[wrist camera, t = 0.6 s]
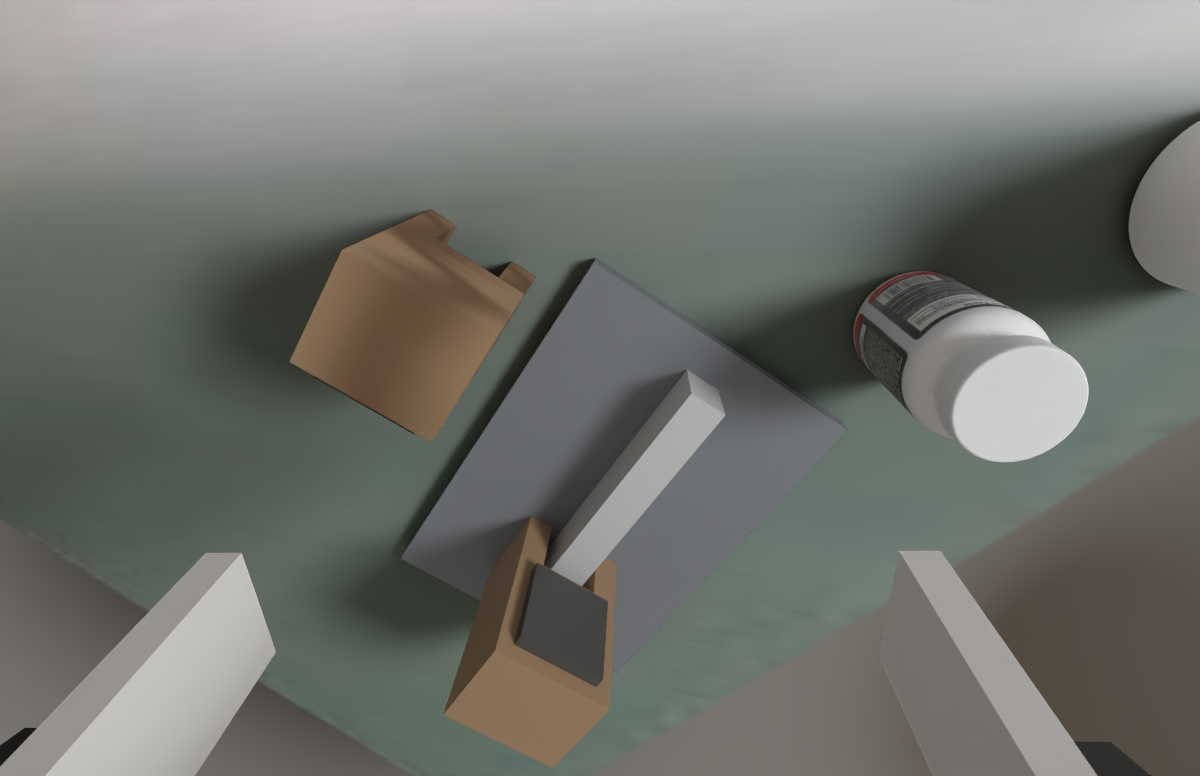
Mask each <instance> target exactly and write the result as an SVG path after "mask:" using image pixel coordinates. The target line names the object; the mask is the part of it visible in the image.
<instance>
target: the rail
mask: <svg viewBox="0 0 1200 776" xmlns="http://www.w3.org/2000/svg"><path fill="white" fill-rule="evenodd" d="M846 431H847V428H846V427H845V425H844V424H843V422H842V421H841V420H839V419H838V418H836V417H835V416H833V415H832V414H830V413H829V412H827V411H826V410H824V409H823V408H821V407H820V406H818V405H817V404H815V403H814V402H812V401H810V400H809V399H807V398H806V397H804V396H803V395H801V394H800V393H798V392H797V391H795V390H794V389H792V388H791V387H789V386H788V385H786V384H785V383H783V382H782V381H780V380H779V379H777V378H776V377H774V376H773V375H771V374H770V373H768V372H767V371H765V370H764V369H762V368H761V367H759V366H758V365H756V364H755V363H753V362H752V361H750V360H749V359H747V358H746V357H744V356H743V355H741V354H740V353H738V352H737V351H735V350H734V349H732V348H731V347H729V346H728V345H726V344H725V343H723V342H722V341H720V340H719V339H717V338H716V337H714V336H713V335H711V334H710V333H708V332H707V331H705V330H704V329H702V328H701V327H699V326H698V325H696V324H695V323H693V322H692V321H690V320H688V319H687V318H685V317H684V316H682V315H681V314H679V313H678V312H676V311H675V310H673V309H672V308H670V307H669V306H667V305H666V304H664V303H663V302H661V301H660V300H658V299H657V298H655V297H654V296H652V295H651V294H649V293H648V292H646V291H645V290H643V289H642V288H640V287H639V286H637V285H636V284H634V283H633V282H631V281H630V280H628V279H627V278H625V277H624V276H622V275H621V274H619V273H618V272H616V271H615V270H613V269H612V268H610V267H609V266H607V265H606V264H604V263H603V262H601V261H600V260H598V259H597V258H595V259H594V261H593V262H592V264H591V266H590V267H589V269H588V270H587V272H586V273H585V275H584V276H583V278H582V279H581V281H580V282H579V284H578V285H577V287H576V289H575V290H574V292H573V293H572V295H571V296H570V298H569V299H568V301H567V302H566V304H565V305H564V307H563V308H562V310H561V312H560V313H559V315H558V316H557V318H556V319H555V321H554V322H553V324H552V325H551V327H550V328H549V330H548V331H547V333H546V335H545V336H544V338H543V339H542V341H541V342H540V344H539V345H538V347H537V348H536V350H535V351H534V353H533V354H532V356H531V357H530V359H529V361H528V362H527V364H526V365H525V367H524V368H523V370H522V371H521V373H520V374H519V376H518V377H517V379H516V380H515V382H514V384H513V385H512V387H511V388H510V390H509V391H508V393H507V394H506V396H505V397H504V399H503V400H502V402H501V403H500V405H499V407H498V408H497V410H496V411H495V413H494V414H493V416H492V417H491V419H490V420H489V422H488V423H487V425H486V426H485V428H484V430H483V431H482V433H481V434H480V436H479V437H478V439H477V440H476V442H475V443H474V445H473V446H472V448H471V449H470V451H469V453H468V454H467V456H466V457H465V459H464V460H463V462H462V463H461V465H460V466H459V468H458V469H457V471H456V472H455V474H454V476H453V477H452V479H451V480H450V482H449V483H448V485H447V486H446V488H445V489H444V491H443V492H442V494H441V495H440V497H439V499H438V500H437V502H436V503H435V505H434V506H433V508H432V509H431V511H430V512H429V514H428V515H427V517H426V518H425V520H424V522H423V523H422V525H421V526H420V528H419V529H418V531H417V532H416V534H415V535H414V537H413V538H412V540H411V541H410V543H409V545H408V546H407V548H406V549H405V551H404V553H403V555H402V557H401V558H400V559H401V560H403V561H405V562H407V563H409V564H411V565H413V566H415V567H416V568H418V569H420V570H422V571H424V572H426V573H428V574H430V575H432V576H434V577H435V578H437V579H439V580H441V581H443V582H445V583H447V584H449V585H451V586H453V587H454V588H456V589H458V590H460V591H462V592H464V593H466V594H468V595H470V596H472V597H473V598H475V599H477V600H479V601H480V604H479V607H478V610H477V613H476V616H475V619H474V622H473V625H472V629H471V632H470V635H469V638H468V641H467V644H466V647H465V650H464V653H463V656H462V659H461V662H460V665H459V668H458V671H457V674H456V677H455V681H454V684H453V687H452V690H451V693H450V696H449V699H448V702H447V705H446V708H445V711H444V714H443V715H444V716H446V717H448V718H450V719H452V720H454V721H456V722H458V723H461V724H463V725H465V726H467V727H469V728H471V729H473V730H475V731H477V732H479V733H481V734H483V735H485V736H487V737H490V738H492V739H494V740H496V741H498V742H500V743H502V744H504V745H506V746H508V747H510V748H512V749H514V750H516V751H518V752H521V753H523V754H525V755H527V756H529V757H531V758H533V759H535V760H537V761H539V762H541V763H543V764H545V765H547V766H549V767H552V768H553V767H554V766H555V765H556V764H557V763H558V762H559V761H560V760H561V759H562V758H563V757H564V756H565V755H566V754H567V753H568V752H569V751H570V750H571V749H572V748H573V747H574V746H575V745H576V744H577V743H578V742H579V741H580V740H581V739H582V738H583V737H584V736H585V735H586V733H587V732H588V731H589V730H590V729H591V728H592V727H593V726H594V725H595V724H596V723H597V722H598V721H599V720H600V719H601V718H602V717H603V716H604V715H605V714H606V713H607V712H608V711H609V710H610V694H611V674H612V671H614V672H616V673H617V672H618V671H619V670H620V669H621V668H622V667H623V666H624V665H625V664H626V663H627V662H628V661H629V660H630V659H631V658H632V657H633V656H634V654H635V653H636V652H637V651H638V650H639V649H640V648H641V647H642V646H643V645H644V644H645V643H646V642H647V641H648V640H649V639H650V638H651V637H652V635H653V634H654V633H655V632H656V631H657V630H658V629H659V628H660V627H661V626H662V625H663V624H664V623H665V622H666V621H667V620H668V619H669V618H670V617H671V615H672V614H673V613H674V612H675V611H676V610H677V609H678V608H679V607H680V606H681V605H682V604H683V603H684V602H685V601H686V600H687V599H688V598H689V596H690V595H691V594H692V593H693V592H694V591H695V590H696V589H697V588H698V587H699V586H700V585H701V584H702V583H703V582H704V581H705V580H706V579H707V578H708V576H709V575H710V574H711V573H712V572H713V571H714V570H715V569H716V568H717V567H718V566H719V565H720V564H721V563H722V562H723V561H724V560H725V559H726V557H727V556H728V555H729V554H730V553H731V552H732V551H733V550H734V549H735V548H736V547H737V546H738V545H739V544H740V543H741V542H742V541H743V540H744V539H745V537H746V536H747V535H748V534H749V533H750V532H751V531H752V530H753V529H754V528H755V527H756V526H757V525H758V524H759V523H760V522H761V521H762V520H763V518H764V517H765V516H766V515H767V514H768V513H769V512H770V511H771V510H772V509H773V508H774V507H775V506H776V505H777V504H778V503H779V502H780V501H781V500H782V498H783V497H784V496H785V495H786V494H787V493H788V492H789V491H790V490H791V489H792V488H793V487H794V486H795V485H796V484H797V483H798V482H799V481H800V479H801V478H802V477H803V476H804V475H805V474H806V473H807V472H808V471H809V470H810V469H811V468H812V467H813V466H814V465H815V464H816V463H817V462H818V461H819V459H820V458H821V457H822V456H823V455H824V454H825V453H826V452H827V451H828V450H829V449H830V448H831V447H832V446H833V445H834V444H835V443H836V442H837V440H838V439H839V438H840V437H841V436H842V435H843V434H844V433H845V432H846Z"/></svg>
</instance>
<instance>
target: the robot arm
mask: <svg viewBox="0 0 1200 776" xmlns="http://www.w3.org/2000/svg"><path fill="white" fill-rule="evenodd" d="M275 653H276V651H275V648H274V645H273V642H272V639H271V636H270V634H269V631H268V628H267V625H266V622H265V619H264V616H263V613H262V610H261V608H260V605H259V602H258V599H257V596H256V593H255V590H254V587H253V585H252V582H251V579H250V576H249V573H248V570H247V567H246V564H245V562H244V559H243V556H242V553H205V554H204V555H203V556H202V557H201V558H200V559H199V560H198V562H197V563H196V564H195V565H194V566H193V567H192V568H191V569H190V570H189V571H188V572H187V573H186V574H185V575H184V576H183V577H182V578H181V579H180V580H179V581H178V582H177V583H176V584H175V585H174V586H173V588H172V589H171V590H170V591H169V592H168V593H167V594H166V595H165V596H164V597H163V598H162V599H161V600H160V601H159V602H158V603H157V604H156V605H155V606H154V607H153V608H152V609H151V610H150V611H149V612H148V614H147V615H146V616H145V617H144V618H143V619H142V620H141V621H140V622H139V623H138V624H137V625H136V626H135V627H134V628H133V629H132V630H131V631H130V632H129V633H128V634H127V635H126V636H125V637H124V638H123V639H122V641H121V642H120V643H119V644H118V645H117V646H116V647H115V648H114V649H113V650H112V651H111V652H110V653H109V654H108V655H107V656H106V657H105V658H104V659H103V660H102V661H101V662H100V663H99V665H98V666H97V667H96V668H95V669H94V670H93V671H92V672H91V673H90V674H89V675H88V676H87V677H86V678H85V679H84V680H83V681H82V682H81V683H80V684H79V685H78V686H77V688H75V689H74V691H73V692H72V693H71V694H70V695H69V696H68V697H67V698H66V699H65V700H64V701H63V702H62V703H61V704H60V705H59V706H58V707H57V708H56V709H55V710H54V711H53V712H52V713H51V714H50V715H49V717H48V718H47V719H46V720H45V721H44V722H43V723H42V724H41V725H40V726H39V727H38V728H24V729H23V730H21V731H20V732H19V733H17V734H16V735H14V736H13V737H11V738H10V739H9V740H7V741H6V742H5V743H3V744H2V745H0V776H195V775H196V773H197V772H198V770H199V768H200V767H201V765H202V764H203V762H204V761H205V759H206V758H207V756H208V755H209V753H210V752H211V750H212V749H213V747H214V746H215V744H216V743H217V741H218V740H219V738H220V737H221V735H222V734H223V732H224V730H225V729H226V727H227V726H228V724H229V723H230V721H231V720H232V718H233V717H234V715H235V714H236V712H237V711H238V709H239V707H240V706H241V705H242V703H243V701H244V700H245V698H246V697H247V695H248V694H249V692H250V691H251V689H252V688H253V686H254V685H255V683H256V682H257V680H258V679H259V677H260V676H261V674H262V673H263V671H264V670H265V668H266V667H267V665H268V663H269V662H270V660H271V659H272V657H273V656H274V654H275ZM879 658H880V660H881V662H882V664H883V667H884V669H885V671H886V673H887V676H888V678H889V680H890V682H891V685H892V687H893V689H894V691H895V693H896V696H897V698H898V700H899V702H900V705H901V707H902V709H903V711H904V713H905V716H906V718H907V720H908V722H909V724H910V726H911V729H912V731H913V733H914V735H915V738H916V740H917V742H918V744H919V747H920V749H921V751H922V753H923V755H924V757H925V760H926V762H927V764H928V766H929V769H930V771H931V773H932V775H933V776H1151V775H1150V774H1148V773H1147V772H1146V771H1145V770H1144V769H1142V768H1141V767H1140V766H1139V765H1138V764H1136V763H1135V762H1134V761H1133V760H1132V759H1130V758H1129V757H1128V756H1127V755H1126V754H1124V753H1123V752H1122V751H1121V750H1120V749H1118V748H1117V747H1116V746H1115V745H1114V744H1112V743H1111V742H1074V741H1073V740H1072V738H1071V737H1070V736H1069V734H1068V733H1067V731H1066V730H1065V729H1064V727H1063V726H1062V725H1061V723H1060V721H1059V720H1058V718H1057V717H1056V716H1055V714H1054V713H1053V711H1052V710H1051V708H1050V707H1049V706H1048V704H1047V703H1046V702H1045V700H1044V699H1043V697H1042V696H1041V694H1040V693H1039V691H1038V690H1037V689H1036V687H1035V686H1034V684H1033V683H1032V682H1031V680H1030V678H1029V677H1028V676H1027V674H1026V673H1025V671H1024V670H1023V668H1022V667H1021V666H1020V664H1019V663H1018V661H1017V660H1016V659H1015V657H1014V656H1013V654H1012V653H1011V651H1010V650H1009V649H1008V647H1007V646H1006V644H1005V643H1004V641H1003V640H1002V638H1001V637H1000V636H999V634H998V633H997V631H996V630H995V629H994V627H993V626H992V624H991V623H990V621H989V620H988V619H987V617H986V616H985V614H984V613H983V611H982V610H981V608H980V607H979V606H978V604H977V603H976V601H975V600H974V598H973V597H972V596H971V594H970V593H969V591H968V590H967V588H966V587H965V586H964V584H963V583H962V581H961V580H960V578H959V577H958V576H957V574H956V573H955V571H954V570H953V568H952V567H951V566H950V564H949V563H948V561H947V560H946V558H945V557H944V556H943V554H942V553H941V551H899V555H898V560H897V565H896V570H895V575H894V580H893V585H892V591H891V596H890V601H889V606H888V611H887V617H886V621H885V627H884V632H883V637H882V642H881V647H880V652H879Z"/></svg>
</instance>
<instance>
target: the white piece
mask: <svg viewBox="0 0 1200 776" xmlns="http://www.w3.org/2000/svg"><path fill="white" fill-rule="evenodd" d="M1129 238H1130V243H1131V247H1132V250H1133V252H1134V255H1135V257H1136V259H1137V260H1138V262H1139V263H1140V265H1141V266H1142V267H1143V268H1144V269H1145V270H1146V271H1147V272H1148V273H1149V274H1150V275H1151V276H1153V277H1154V278H1156V279H1157V280H1159V281H1161V282H1163V283H1166V284H1168V285H1171V286H1174V287H1177V288H1181V289H1184V290H1187V291H1190V292H1193V293H1196V294H1199V295H1200V121H1198V122H1196V123H1195V124H1193V125H1192V126H1190V127H1189V128H1188V129H1186V130H1185V131H1184V132H1182V133H1181V134H1180V135H1179V136H1178V137H1176V138H1175V139H1174V140H1173V141H1172V142H1171V143H1170V144H1169V145H1168V146H1167V147H1166V148H1165V149H1164V150H1163V151H1162V152H1161V153H1160V154H1159V156H1158V157H1157V158H1156V159H1155V160H1154V162H1153V163H1152V164H1151V166H1150V167H1149V169H1148V170H1147V172H1146V173H1145V175H1144V177H1143V179H1142V180H1141V182H1140V184H1139V186H1138V189H1137V191H1136V193H1135V196H1134V199H1133V202H1132V206H1131V210H1130V216H1129Z"/></svg>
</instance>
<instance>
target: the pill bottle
mask: <svg viewBox="0 0 1200 776" xmlns="http://www.w3.org/2000/svg"><path fill="white" fill-rule="evenodd" d="M853 339H854V345H855V349H856V351H857V354H858V356H859V358H860V359H861V361H862V362H863V364H864V365H865V366H866V367H867V368H868V369H869V370H870V371H871V372H872V373H873V374H874V376H875V377H876V378H877V379H878V380H879V381H880V382H881V383H882V384H883V385H884V386H885V387H886V388H887V389H888V390H889V391H890V392H891V393H892V395H893V396H894V397H895V398H896V399H897V400H898V401H899V402H900V403H901V404H902V405H903V406H904V407H905V408H906V409H907V410H908V411H909V413H910V414H911V415H912V416H913V417H914V418H915V419H916V420H917V421H918V422H920V423H921V424H922V425H923V426H924V427H926V428H927V429H929V430H930V431H932V432H934V433H936V434H939V435H941V436H944V437H948V438H952V439H954V440H955V441H957V442H958V443H959V444H960V445H961V446H962V447H963V448H964V449H965V450H967V451H968V452H970V453H971V454H973V455H975V456H977V457H979V458H982V459H985V460H989V461H994V462H1014V461H1021V460H1025V459H1028V458H1032V457H1035V456H1037V455H1040V454H1042V453H1044V452H1046V451H1048V450H1049V449H1051V448H1053V447H1054V446H1056V445H1057V444H1058V443H1060V442H1061V441H1062V440H1063V439H1064V438H1066V437H1067V436H1068V435H1069V434H1070V433H1071V432H1072V431H1073V429H1074V428H1075V427H1076V425H1077V424H1078V422H1079V421H1080V419H1081V417H1082V415H1083V414H1084V411H1085V408H1086V405H1087V400H1088V394H1089V388H1088V382H1087V378H1086V375H1085V373H1084V371H1083V369H1082V368H1081V366H1080V365H1079V363H1078V362H1077V361H1076V360H1075V359H1074V358H1073V357H1071V356H1070V355H1069V354H1067V353H1066V352H1064V351H1062V350H1061V349H1059V348H1058V347H1056V346H1055V345H1054V344H1052V343H1051V342H1050V340H1049V338H1048V336H1047V335H1046V333H1045V332H1044V330H1043V329H1042V328H1041V327H1040V326H1039V325H1038V324H1037V323H1035V322H1034V321H1033V320H1032V319H1030V318H1028V317H1027V316H1025V315H1024V314H1022V313H1020V312H1018V311H1016V310H1014V309H1012V308H1010V307H1008V306H1006V305H1004V304H1002V303H1000V302H998V301H996V300H994V299H992V298H990V297H988V296H986V295H984V294H982V293H980V292H978V291H976V290H974V289H972V288H970V287H968V286H966V285H964V284H962V283H960V282H958V281H956V280H954V279H952V278H950V277H948V276H945V275H942V274H939V273H935V272H929V271H916V272H909V273H905V274H901V275H898V276H896V277H893V278H891V279H889V280H887V281H886V282H884V283H883V284H881V285H880V286H878V287H877V288H876V289H875V290H874V291H873V292H872V293H871V294H870V295H869V296H868V297H867V298H866V300H865V301H864V303H863V304H862V306H861V307H860V309H859V311H858V314H857V316H856V319H855V323H854V330H853Z"/></svg>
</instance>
